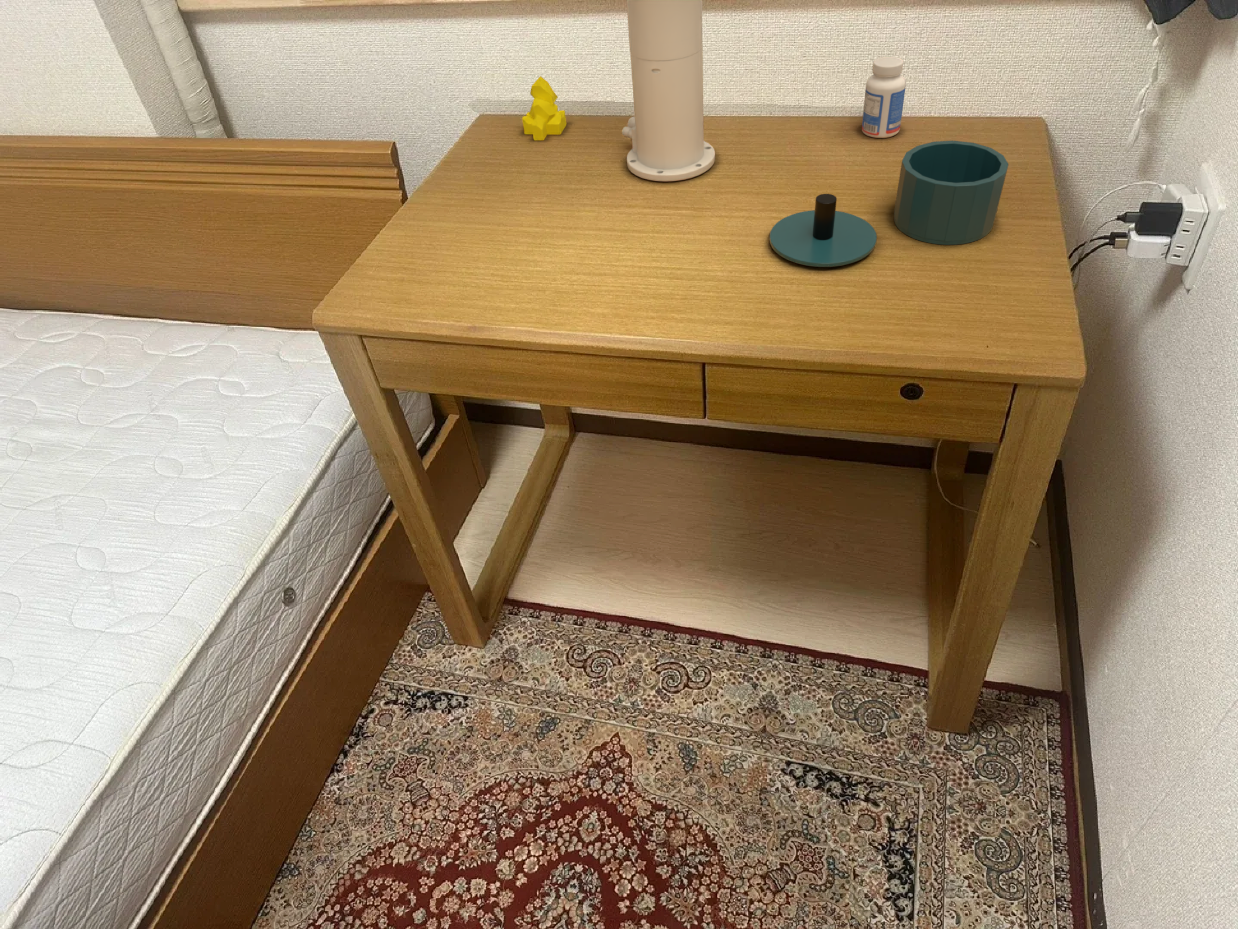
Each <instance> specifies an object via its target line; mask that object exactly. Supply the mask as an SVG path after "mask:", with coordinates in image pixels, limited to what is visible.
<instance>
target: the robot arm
mask: <svg viewBox="0 0 1238 929" xmlns="http://www.w3.org/2000/svg"><path fill="white" fill-rule="evenodd" d="M626 12H627V28H628V29H627V31H628V42H629V54H630V69H631V83H632V84H631V85H632V97H633V99H632V100H633V112H634V116H631V117H630V118H629V119H628V121H627V126H624V127H623V128H622V130H621V135H622V136H623V137H625V138H628V139H631V142H632V148H631V149H630V150H629V151H628V153H627V155H626V166H627V169H628V171H630V172H631V173H632V174H634V175H635V176H637V177H639V178H641V179H643V180H644V179H645V180H648V181H654V182H677V181H678V182H679V181H684V180H689V179H692V178H696V177H698V176H700V175H702V174H704V173H706V172H707V171H708V170H710V169H711V168H712V167H713V165H714V164H715V161H716V152H715V151H716V150H715V148H714V147H713V146H712V145H711V144H710V143H709V142H707V141H705V134H704V133H705V132H704V130H705V129H704V128H705V127H704V126H705V125H704V54H703V53H704V51H703V50H704V49H703V48H704V45H703V0H626Z"/></svg>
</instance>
